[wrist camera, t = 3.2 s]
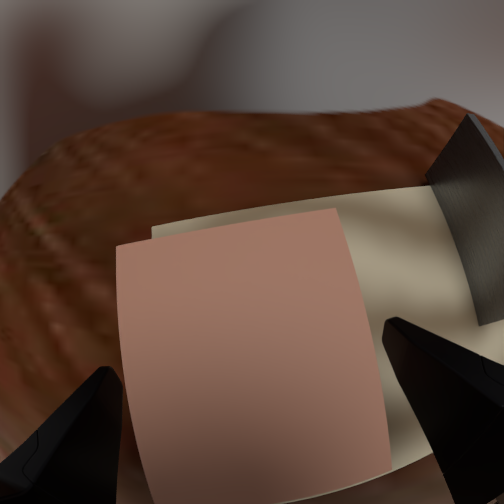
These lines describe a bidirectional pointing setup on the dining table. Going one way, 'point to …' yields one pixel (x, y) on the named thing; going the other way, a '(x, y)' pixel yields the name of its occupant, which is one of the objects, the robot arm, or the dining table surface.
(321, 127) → the dining table surface
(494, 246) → the bookend
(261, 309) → the salmon pink rectangular block
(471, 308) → the beige cloth placemat
